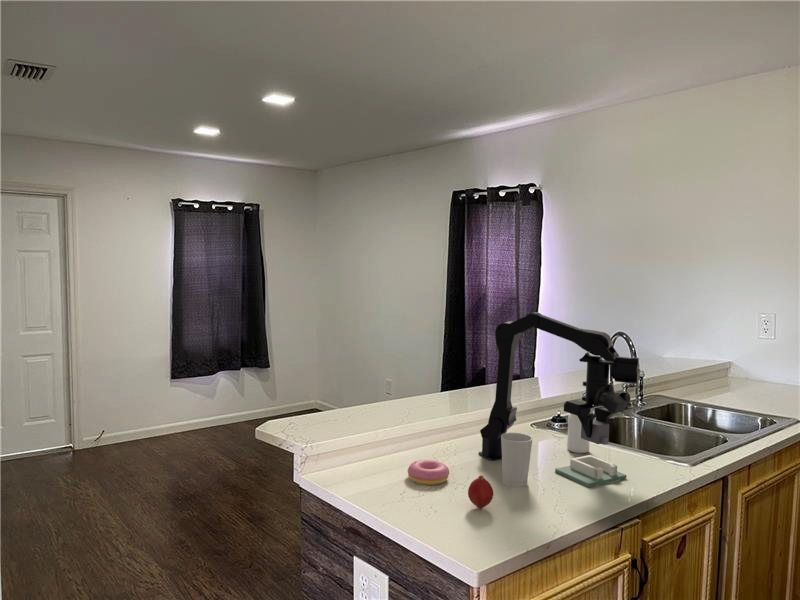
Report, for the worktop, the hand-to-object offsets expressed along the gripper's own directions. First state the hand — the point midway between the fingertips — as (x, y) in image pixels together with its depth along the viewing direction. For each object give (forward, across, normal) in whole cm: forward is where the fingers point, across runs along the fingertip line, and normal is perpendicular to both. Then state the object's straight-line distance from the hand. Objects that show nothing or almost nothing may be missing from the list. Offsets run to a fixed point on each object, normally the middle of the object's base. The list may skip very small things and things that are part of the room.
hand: (594, 436), depth 160 cm
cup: (+11, -23, +5) cm, 26 cm away
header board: (+11, -1, 0) cm, 11 cm away
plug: (+1, 0, 0) cm, 1 cm away
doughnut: (+11, -42, +17) cm, 47 cm away
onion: (+11, -41, -4) cm, 43 cm away
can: (+11, +12, +17) cm, 23 cm away
